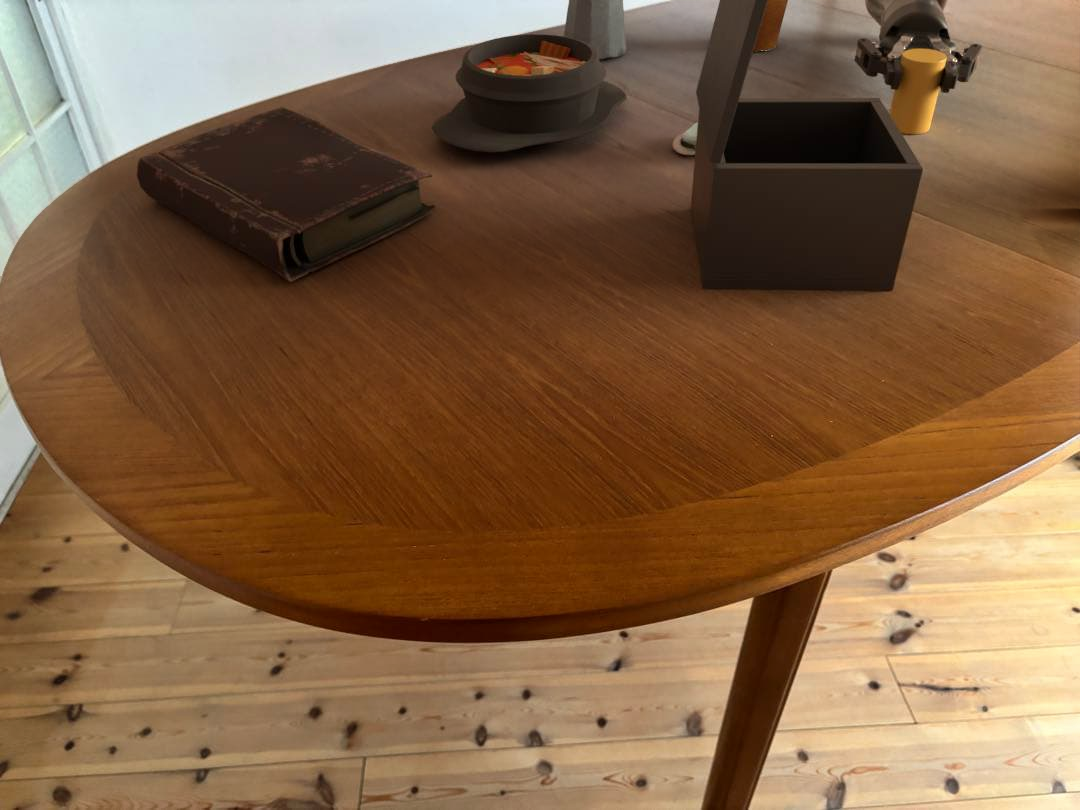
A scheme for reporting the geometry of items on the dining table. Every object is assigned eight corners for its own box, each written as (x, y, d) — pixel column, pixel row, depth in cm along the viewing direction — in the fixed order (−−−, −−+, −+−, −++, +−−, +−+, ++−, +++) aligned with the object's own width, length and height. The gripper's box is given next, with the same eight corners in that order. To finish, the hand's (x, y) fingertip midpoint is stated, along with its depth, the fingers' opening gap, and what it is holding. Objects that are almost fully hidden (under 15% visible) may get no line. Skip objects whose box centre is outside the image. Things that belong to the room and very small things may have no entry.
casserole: (550, 80, 119) (549, 12, 114) (662, 116, 109) (666, 43, 103) (398, 137, 106) (389, 64, 100) (510, 185, 95) (506, 106, 90)
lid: (760, -116, 72) (750, -118, 72) (789, -73, 61) (777, -76, 61) (705, 93, 83) (695, 92, 83) (720, 163, 71) (709, 161, 71)
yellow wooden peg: (923, 118, 106) (940, 48, 101) (934, 134, 103) (952, 62, 97) (883, 118, 106) (897, 48, 101) (892, 134, 103) (908, 62, 98)
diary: (283, 288, 80) (271, 237, 77) (145, 203, 94) (130, 157, 91) (442, 213, 91) (437, 165, 87) (296, 147, 104) (288, 103, 101)
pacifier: (664, 158, 100) (718, 164, 98) (666, 101, 96) (722, 106, 94) (682, 133, 105) (734, 138, 103) (685, 78, 101) (739, 82, 99)
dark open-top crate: (856, 209, 89) (879, 97, 82) (892, 290, 78) (923, 168, 71) (690, 208, 90) (699, 98, 83) (702, 288, 79) (714, 168, 72)
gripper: (858, -2, 111) (859, 43, 98) (984, 3, 108) (1003, 50, 95) (846, 61, 115) (846, 111, 102) (967, 68, 112) (983, 121, 99)
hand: (922, 82), depth 99 cm, fingers closed on yellow wooden peg, 4 cm apart
